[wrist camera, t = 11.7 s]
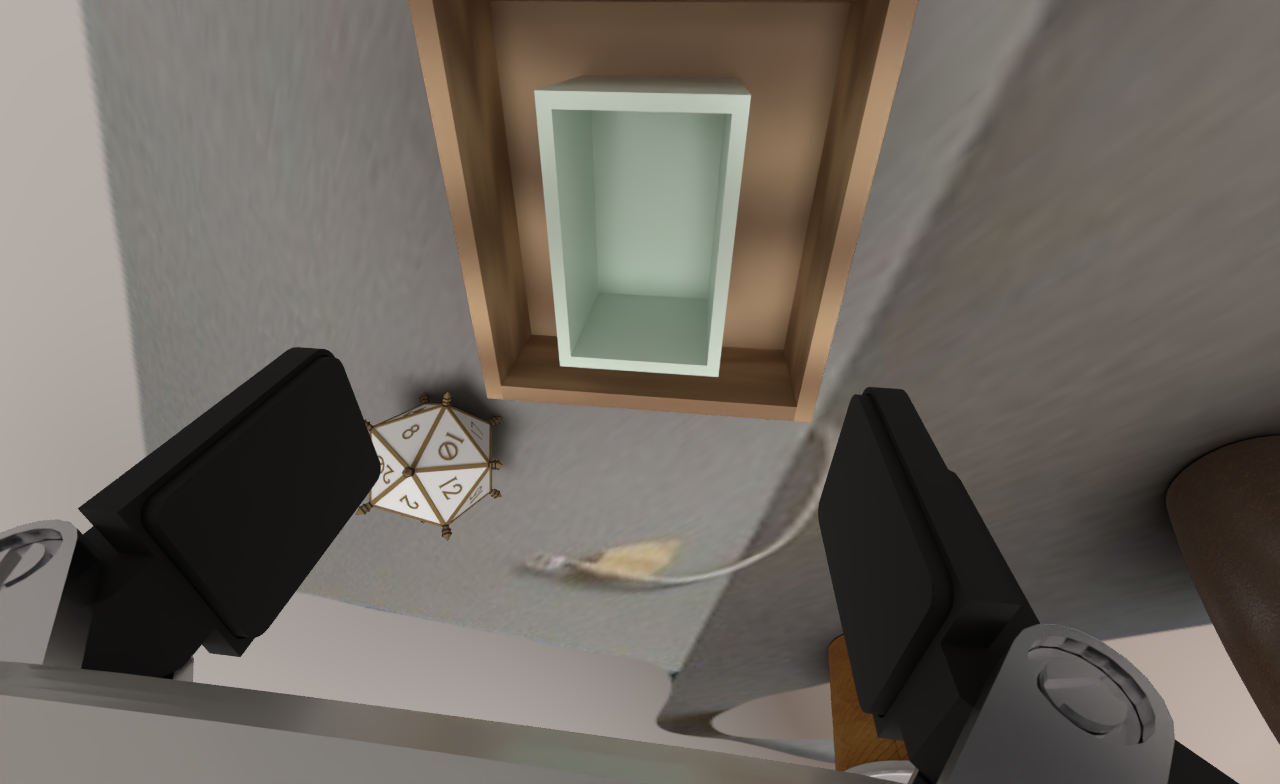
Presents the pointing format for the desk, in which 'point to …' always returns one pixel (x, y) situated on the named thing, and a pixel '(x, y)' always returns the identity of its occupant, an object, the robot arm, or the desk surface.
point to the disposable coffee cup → (860, 728)
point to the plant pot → (1237, 556)
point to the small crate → (642, 217)
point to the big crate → (769, 193)
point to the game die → (432, 463)
